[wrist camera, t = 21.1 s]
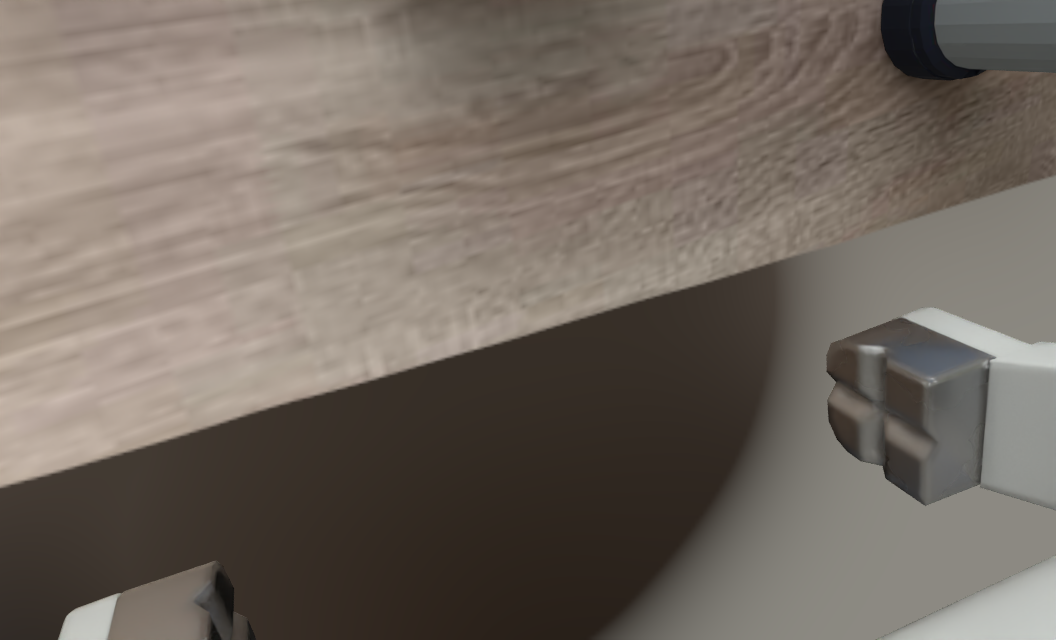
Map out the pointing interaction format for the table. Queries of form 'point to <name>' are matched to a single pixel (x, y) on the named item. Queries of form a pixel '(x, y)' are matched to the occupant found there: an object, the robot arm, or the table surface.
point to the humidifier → (969, 36)
